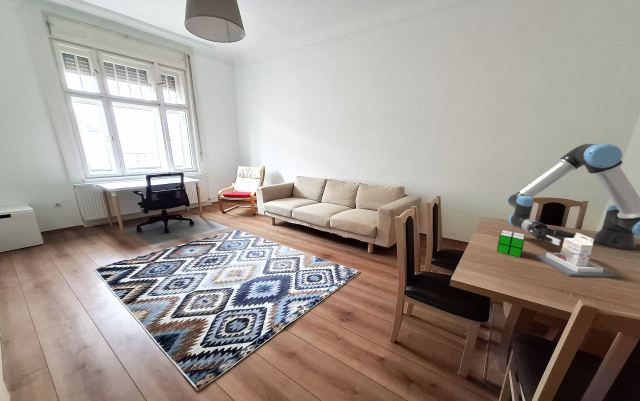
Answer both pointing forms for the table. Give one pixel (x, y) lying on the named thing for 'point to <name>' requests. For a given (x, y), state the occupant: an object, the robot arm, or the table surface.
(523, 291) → the table surface
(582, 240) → the ink cartridge box
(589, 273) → the cartridge dock
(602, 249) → the table surface
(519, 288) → the table surface
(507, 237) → the puzzle cube
